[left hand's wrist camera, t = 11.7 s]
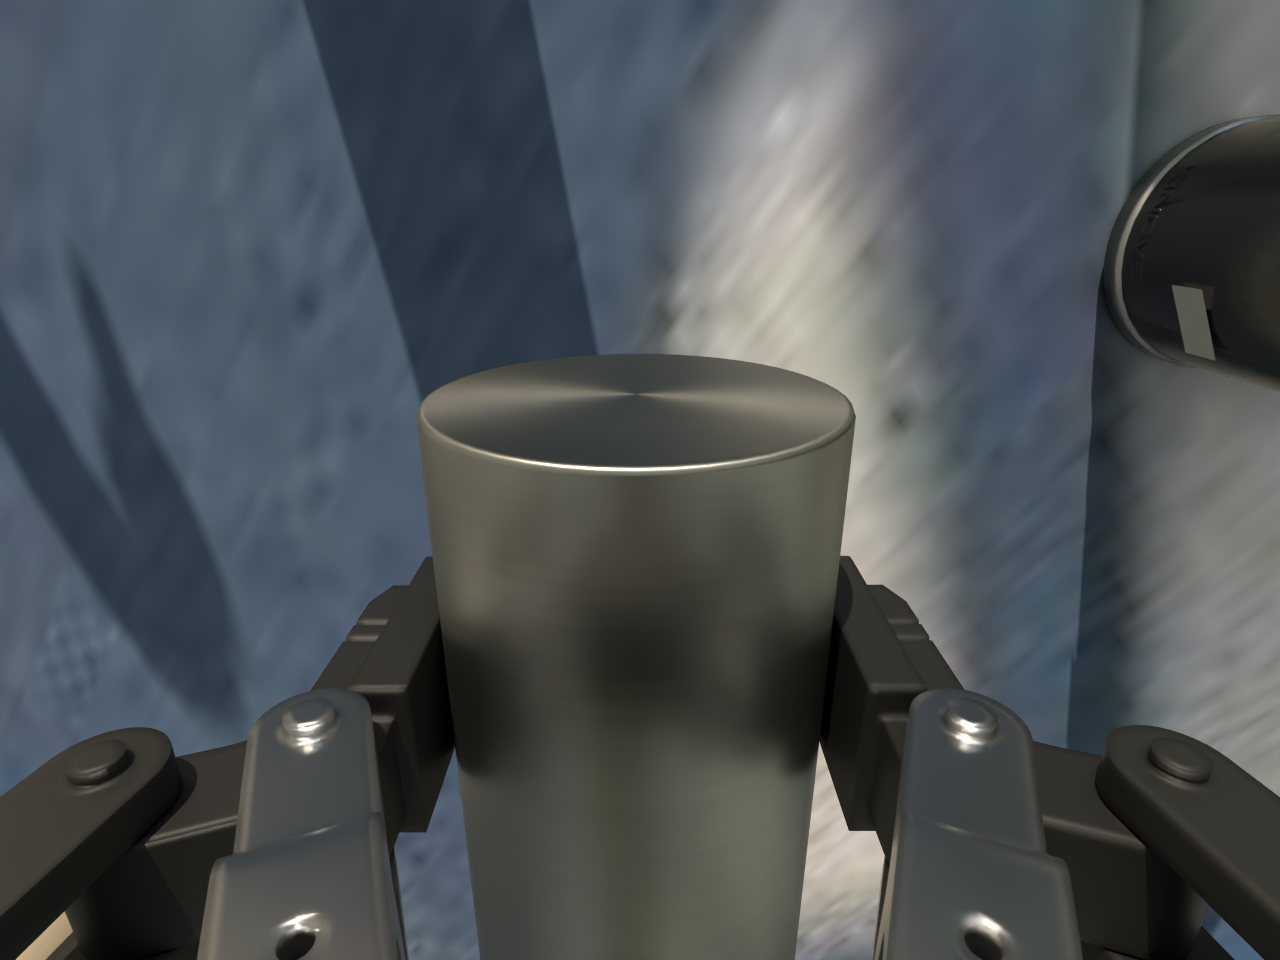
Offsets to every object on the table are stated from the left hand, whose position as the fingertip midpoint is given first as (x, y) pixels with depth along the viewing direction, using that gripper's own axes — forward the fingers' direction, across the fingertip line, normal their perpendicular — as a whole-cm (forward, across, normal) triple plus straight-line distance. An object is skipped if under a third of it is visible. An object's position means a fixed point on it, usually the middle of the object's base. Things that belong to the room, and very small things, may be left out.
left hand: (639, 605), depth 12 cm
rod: (+1, 0, -7) cm, 7 cm away
